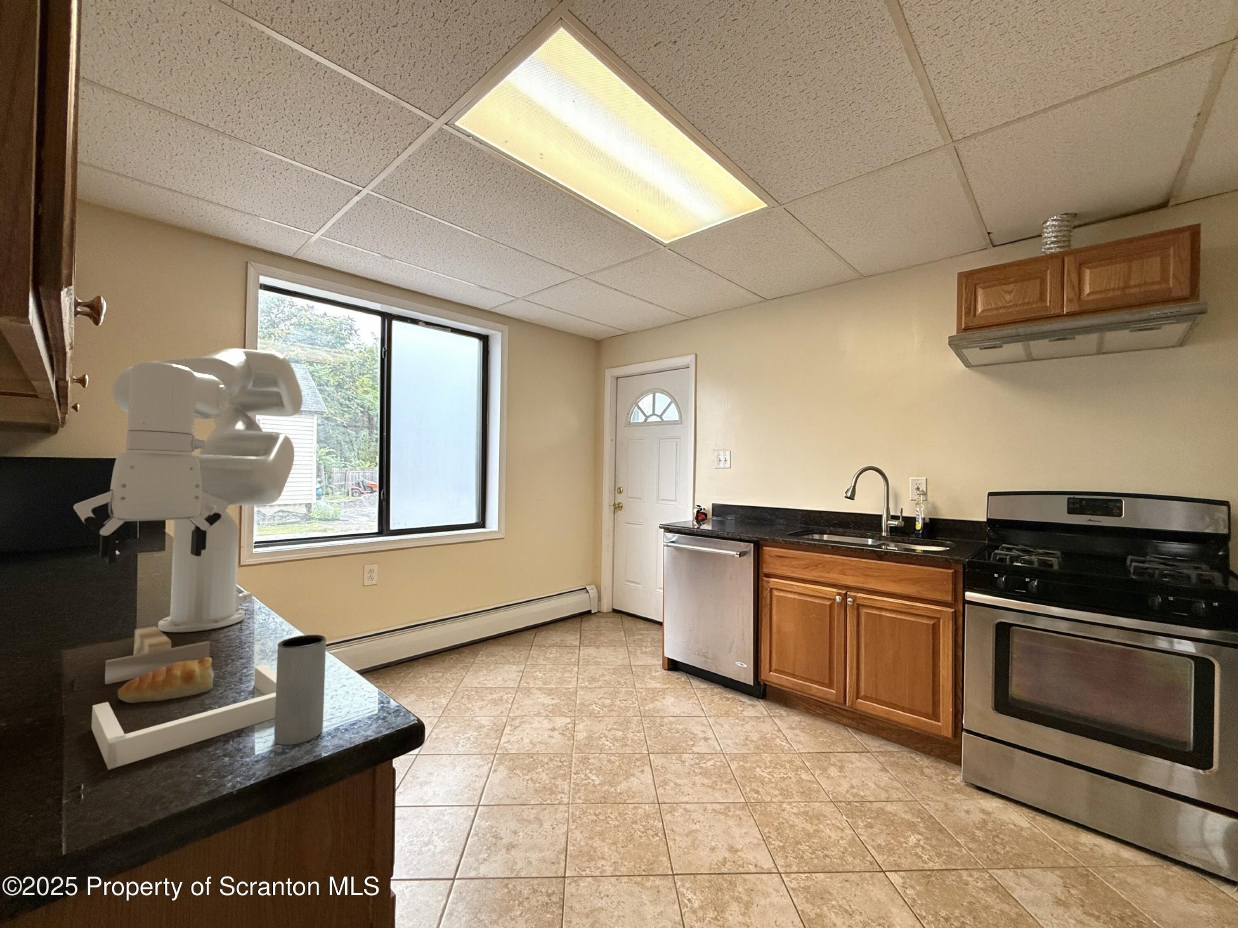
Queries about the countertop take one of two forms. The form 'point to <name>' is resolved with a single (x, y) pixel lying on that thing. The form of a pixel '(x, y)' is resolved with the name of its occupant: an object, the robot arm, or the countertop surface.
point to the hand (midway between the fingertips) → (155, 558)
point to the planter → (299, 689)
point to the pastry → (170, 682)
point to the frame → (181, 725)
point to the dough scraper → (152, 655)
